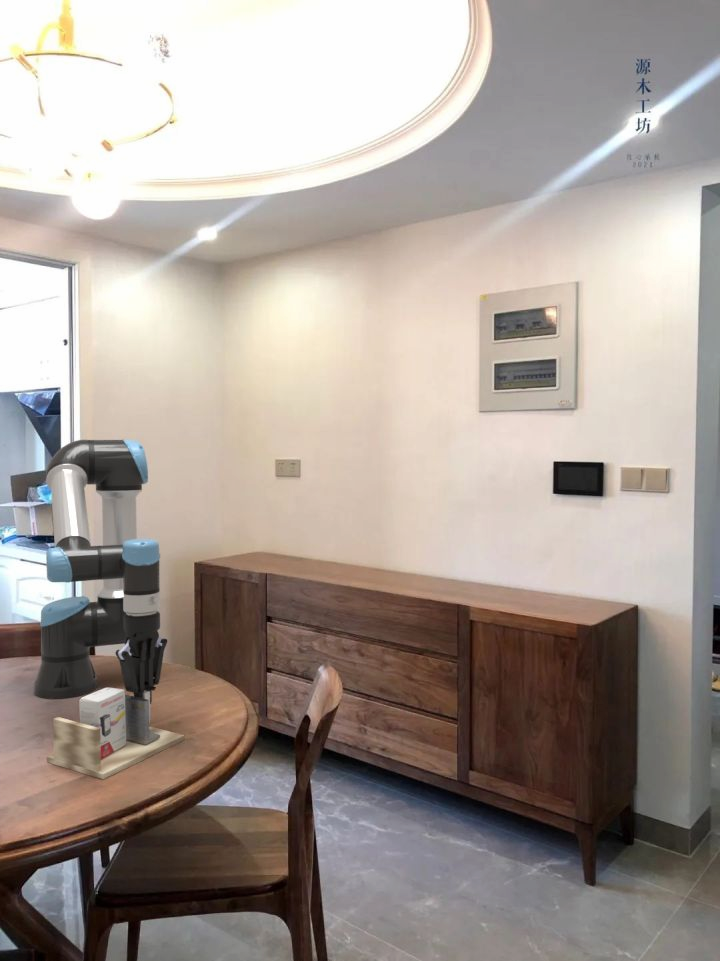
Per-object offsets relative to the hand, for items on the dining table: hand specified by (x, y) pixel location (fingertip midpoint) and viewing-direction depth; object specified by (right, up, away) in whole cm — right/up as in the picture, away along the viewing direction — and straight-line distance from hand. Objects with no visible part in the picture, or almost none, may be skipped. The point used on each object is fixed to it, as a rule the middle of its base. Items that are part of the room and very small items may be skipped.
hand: (143, 720), depth 159 cm
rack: (-3, -4, -6) cm, 8 cm away
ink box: (-5, -4, -9) cm, 11 cm away
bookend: (-1, -3, -2) cm, 3 cm away
